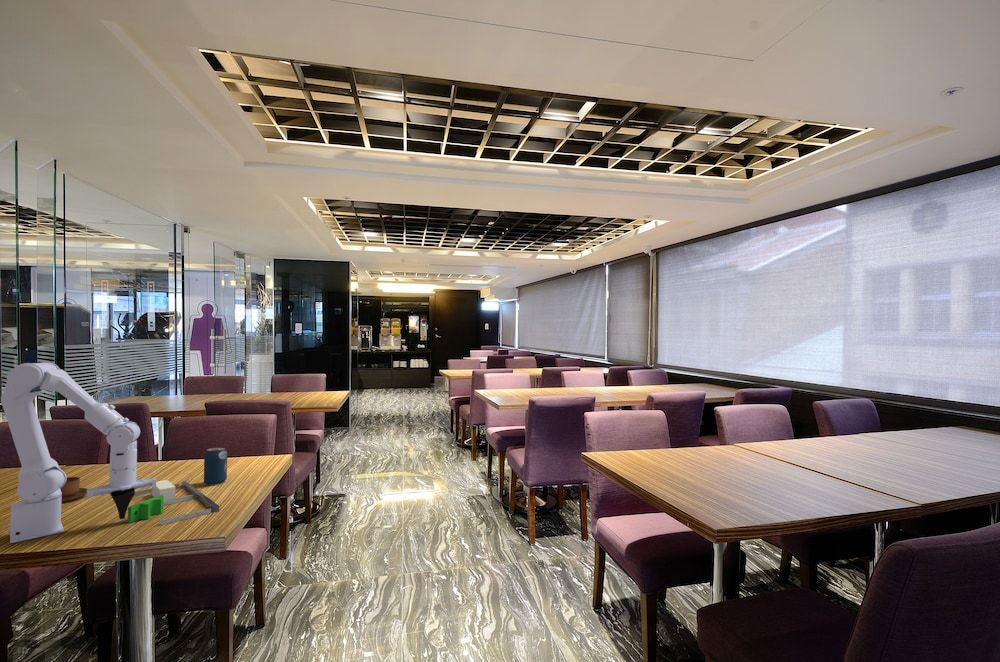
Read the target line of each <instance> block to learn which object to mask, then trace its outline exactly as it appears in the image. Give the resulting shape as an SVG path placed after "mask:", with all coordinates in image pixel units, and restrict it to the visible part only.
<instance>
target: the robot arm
mask: <svg viewBox="0 0 1000 662" xmlns="http://www.w3.org/2000/svg"><path fill="white" fill-rule="evenodd" d="M5 377H6V384H5V385H4V386H5V387H4V390H2V391H3V392H2V395H1V397H0V402H1V405H2V408H3V412H4V415H5V417H6V420H7V424H8V427H9V430H10V433H11V436H12V439H13V443H14V446H15V449H16V452H17V455H18V459H19V462H20V464H21V468H20V470H19V471H18V474H17V480H18V486H17V489H16V493H17V497H19V499H21V501H18V502H14V503H11V505H10V525H9V526H8V527H7V528H8V529H7V531H8V532H7V535H9V543H10V544H14V543H19V542H23V541H24V542H25V541H28V540H33V539H37V538H42V537H46V536H51V535H52V536H53V535H54V534H55V535H56V534H61V533H63V532H65V529H64V526H63V524H62V523H63V522H61V521H62V502H61V500H62V492H61V488H62V487H63V486H64V484H65V483H66V480H67V478H68V476H67V473H66V472H65V471H64V470H63V469H61V468H60V466H59V463H58V462H57V461H56V460H55V459H54V458H52V457H51V454H50V452H49V448H48V445H47V442H46V439H45V436H44V432H43V429H42V425H41V423H40V420H39V417H38V414H37V411H36V408H35V404H34V400H35V399H36V398H37V396H38V395H39V394H40V393H42V392H43V391H50V392H51V391H52V392H57V393H59V394H60V395H62V396H63V397H64V398H65V399H67V400H68V401H70V402H71V403H73V404H74V405H75V406H76V407H78V408H79V409H81V410H83V412H84V419H85V421H87V422H88V423H90V424H91V425H92V426H93V427H95V429H97V430H98V431H99V432H100V433H102V434H103V435H104V436H106V437H105V439H106V442H107V444H109V445H110V452H109V475H108V476H109V480H108V482H109V483H108V484H106V485H105V484H104V485H102V486H97V487H92V488H87V494H86V498H87V499H91V498H95V497H97V496H104V495H110V496H111V498H112V499H113V502H114V503H115V507H116V509H117V512H118V513H117V514H118V518H119V520H124V519H125V518H126V513H127V512H128V507H130V506H129V505H130V503H131V501H132V500H133V498H134V497H135V496H134V494H135V491H136V490H137V489H138V490H139V489H143V488H148V487H152V486H156V482H157V478H156V477H151V478H143V479H137V470H138V469H137V467H138V449H137V448H138V440H137V439H138V438H139V437H140V435H141V428H140V426H139V425H138V424H137V422H134V421H130V419H129V418H128V417H123V415H121V414H120V413H119V412H118V411H116V410H115V409H116V406H115V405H113V404H108V403H107V402H98V401H97V400H96V399H94V397H92V396H91V395H90V394H89V393H88V392H87V391H86V390H85V389H84V388H82V387H81V386H80V384H79V383H77V382H76V381H75V380H74V379H73V378H72V377H71V376H70V375H69V374H68V372H67V371H65V370H64V369H61V368H60V367H59V366H58V365H57V364H55V363H54V362H53V363H52V362H49V361H43V362H33V363H32V362H31V363H30V362H24V363H20V364H19V365H17V366H15V367H14V368H13V369H12V370H11V371H9V372H8V374H6V376H5Z"/></svg>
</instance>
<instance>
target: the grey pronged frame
mask: <svg viewBox="0 0 1000 662" xmlns="http://www.w3.org/2000/svg"><path fill="white" fill-rule="evenodd" d="M172 484H173V485H174V486H175V487H176V489H177V488H180V484H181V487H182V489H184V490H185V491H187V492H188V493H189V495H185V496H180V497H175V499H170V500H165V501H163V506H167V505H172V504H178V503H183V502H186V501H192V500H194V499H195V498H196V499H197V501H199V502H201V503H202V504H203V505H205V506H206V507H207V508H206V509H201V510H198V511H197V510H196V511H193V512H189V513H183V514H180V515H175V516H171V517H170V516H169V517H166V518H163V519H159V526H163V525H167V524H171V523H174V522H175V523H176V522H179V521H183V520H184V521H185V520H188V519H192V518H196V517H201V516H205V515H208V514H209V515H210V514H211V513H212V512H213V513H217V512H220V505H219V504H217V503H216V502H215V501H213V500H212V499H211V498H209V497H208V496H206V495H205V494H204V493H202V492H201V491H200V490H198V489H197V488H196V487H195V486H193V485H192V484H190V483H189V482H188V481H186V480H185V481H181V483H178V482H177V483H172ZM134 491H135V494H134V496H133V497H135V496H140V495H146V494H152V487H151V488H145V489H141V490H139V489H138V490H134Z"/></svg>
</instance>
